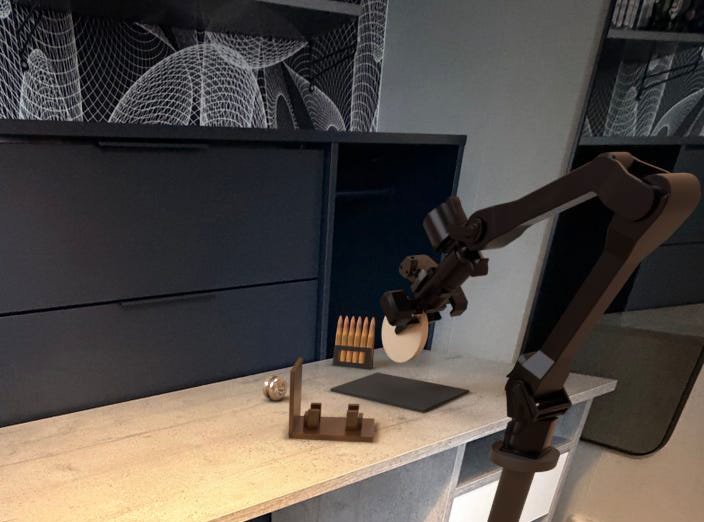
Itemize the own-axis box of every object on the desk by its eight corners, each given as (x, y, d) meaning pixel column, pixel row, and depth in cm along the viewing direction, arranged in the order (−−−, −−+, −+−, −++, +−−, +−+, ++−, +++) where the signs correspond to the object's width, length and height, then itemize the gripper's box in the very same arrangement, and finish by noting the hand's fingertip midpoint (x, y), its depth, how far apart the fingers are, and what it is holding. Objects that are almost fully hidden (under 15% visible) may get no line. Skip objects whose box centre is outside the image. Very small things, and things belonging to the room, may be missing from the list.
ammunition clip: (332, 365, 137) (335, 315, 130) (335, 363, 138) (338, 314, 131) (369, 369, 131) (375, 318, 124) (372, 367, 132) (378, 316, 125)
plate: (422, 366, 106) (433, 302, 99) (416, 367, 105) (427, 303, 98) (383, 355, 115) (391, 296, 108) (378, 357, 114) (385, 296, 107)
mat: (468, 392, 111) (469, 389, 111) (423, 412, 102) (423, 409, 102) (377, 374, 127) (377, 372, 126) (330, 390, 118) (330, 388, 117)
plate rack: (374, 423, 99) (382, 358, 92) (372, 442, 91) (381, 372, 84) (296, 420, 102) (298, 357, 95) (288, 438, 95) (290, 371, 88)
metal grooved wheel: (279, 396, 116) (279, 373, 113) (288, 398, 114) (288, 375, 111) (262, 400, 114) (262, 377, 111) (271, 403, 112) (272, 380, 109)
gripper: (469, 234, 97) (418, 295, 112) (392, 241, 91) (349, 304, 106) (493, 284, 96) (438, 339, 110) (417, 294, 90) (369, 351, 104)
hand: (399, 332), depth 108 cm, fingers closed on plate, 2 cm apart
